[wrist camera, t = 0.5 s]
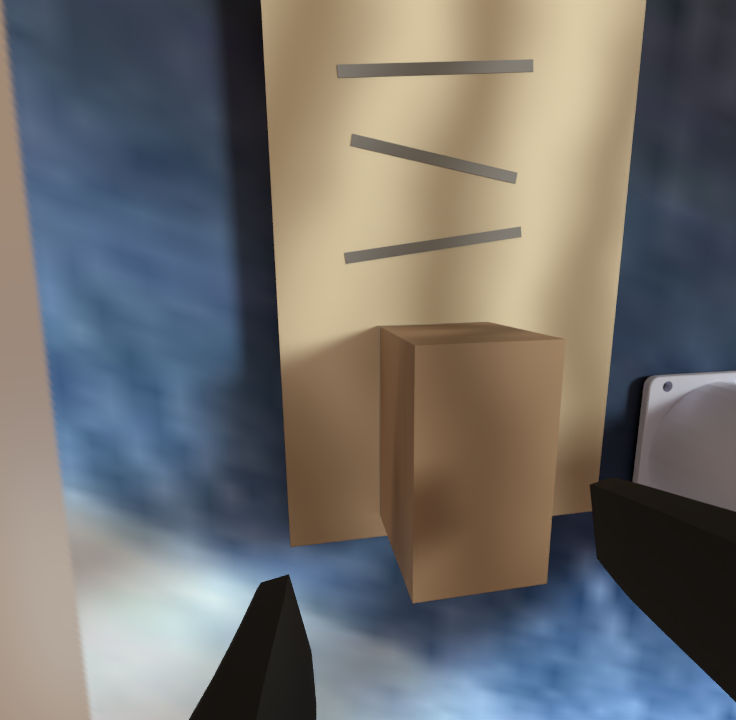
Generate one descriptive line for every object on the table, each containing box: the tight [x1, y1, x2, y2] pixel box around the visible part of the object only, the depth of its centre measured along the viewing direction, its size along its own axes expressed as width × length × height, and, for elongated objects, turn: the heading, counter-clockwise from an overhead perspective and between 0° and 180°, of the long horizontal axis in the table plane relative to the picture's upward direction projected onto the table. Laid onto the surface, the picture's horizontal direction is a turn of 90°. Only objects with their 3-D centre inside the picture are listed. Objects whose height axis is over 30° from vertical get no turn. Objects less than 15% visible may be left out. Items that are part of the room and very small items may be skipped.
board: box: [261, 0, 646, 547], centre depth 17 cm, size 14×24×2 cm, turn 1°
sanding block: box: [378, 322, 566, 603], centre depth 15 cm, size 4×8×5 cm, turn 1°
